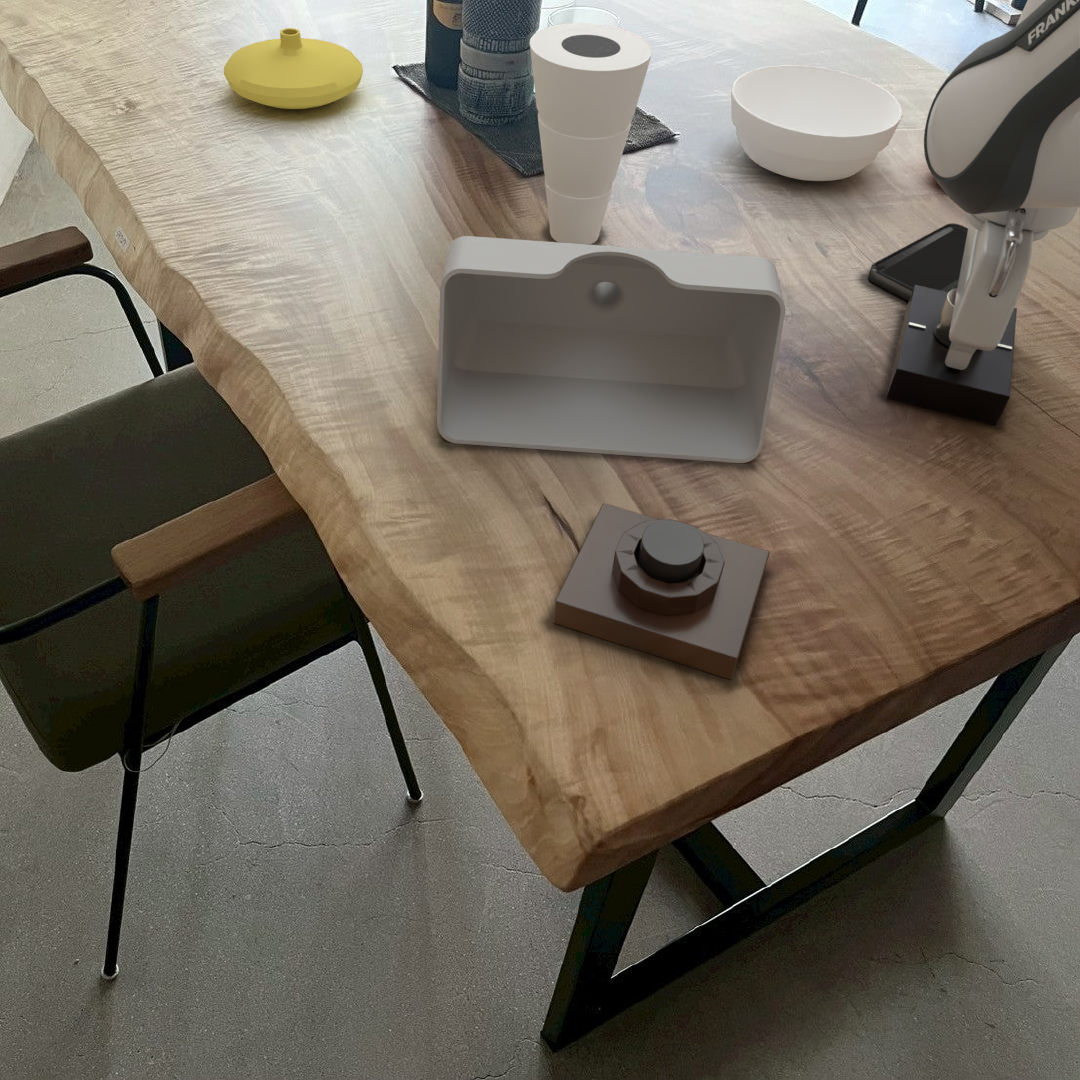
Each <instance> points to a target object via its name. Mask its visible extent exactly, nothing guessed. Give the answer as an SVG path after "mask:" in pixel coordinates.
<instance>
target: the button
mask: <svg viewBox="0 0 1080 1080" xmlns="http://www.w3.org/2000/svg"><path fill="white" fill-rule="evenodd" d="M672 520H673V519H672ZM672 520H665V521H659V522H656V523H653V524H651V525H650V526H649V527H648V528H646V530H645V531H644V533H643V535H642V539H641V545H640V551H639V563H640V566H641V567H642V569H643V570H644V571H645V572H646V573H647V574H648V575H649V576H650V577H652V578H654V579H656V580H659V581H663V582H666V583H681V582H685V581H687V580H689V579H691V578H692V577H694V576H695V575H696V573H697V572H698V570H699V567H700V563H701V559H702V555H703V551H704V542H703V539H702V537H701V535H700V534H699V533H698V532H697V531H696V530H695V529H694V528H692V527H691V526H689V525H690V524H689V525H687V524H688V523H686V522H683V523H682V521H679V520H676V521H672ZM685 523H686V524H685Z"/></svg>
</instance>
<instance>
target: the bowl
mask: <svg viewBox="0 0 1080 1080" xmlns="http://www.w3.org/2000/svg"><path fill="white" fill-rule="evenodd" d="M730 90H731V91H730V117H731V121H732V124H733V125H734V127H735V133H736V137H737V140H738V141H739V144H740V146H741V147H742V149H743V151H744V152H745V154H746V155H747V157H748V158H749V159H751V161H753V162H754V163H755V164H757V165H759V166H760V167H762V168H763V169H765V170H768V171H769V172H771V173H775V174H778V175H780V176H783V177H787V178H791V179H794V180H801V181H811V182H828V181H837V180H844V179H846V178H850V177H851V176H854V175H856V174H858V173H859V172H861V171H862V170H863V169H864V168H866V167H868V166H869V165H870V164H871V163H872V162H873V161H875V159H876V158H877V156H878V155H879V153H880V152H882V151H883V150H885V148H887V147H888V146H889V144H890V141H891V140H892V138H893V136H894V134H895V132H896V130H897V129H898V126H899V125H900V122H901V120H902V117H903V109H902V108H903V107H902V106H901V103H900V102H899V100H898V98H896V97H895V96H894V95H893V94H892V93H891V92H890V91H888V90H886V89H885V88H884V87H882V86H881V85H879V84H877V83H875V82H873V81H871V80H868V79H866V78H863V77H861V76H859V75H856V74H852V73H849V72H846V71H842V70H836V69H832V68H828V67H821V66H814V65H801V64H779V65H770V66H764V67H763V66H762V67H760V68H759V67H758V68H755V69H752V70H750V71H747V72H744V73H743V74H741V75H740V76H739V77H737V78H736V80H735V81H734V82H733V84H732V86H731V89H730Z"/></svg>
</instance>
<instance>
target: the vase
mask: <svg viewBox="0 0 1080 1080" xmlns="http://www.w3.org/2000/svg"><path fill="white" fill-rule="evenodd" d="M363 68H364V67H363V64H362V62H361V61H360V60H359V58H357V57H356V55H354V53H353V52H352V51H351V50H349V49H347V48H346V47H344V46H342V45H340V44H336V43H334V42H331V41H326V40H321V39H316V38H304V37H301V31H300V30H299V29H297V28H293V27H287V28H283V29H281V30H279V38H272V39H266V40H261V41H258V42H254V43H250V44H248V45H245V46H242V47H241V48H239V49H237V50H236V51H235V52H233V53H232V55H230V57H229V59H228V60H227V61H226V63H225V65H224V66H223V75H224V77H225V79H226V81H227V83H228V86H229V87H230V88H231V90H232V91H233V92H235V93H236V94H238V95H239V96H240V97H242V98H244V99H246V100H250V101H252V102H255V103H257V104H260V105H264V106H267V107H272V108H277V109H285V110H305V109H312V108H313V109H314V108H318V107H322V106H326V105H329V104H332V103H333V102H336V101H338V100H340V99H343V98H344V97H347V96H349V95H351V94H352V93H353V92H355V90H356V89H358V87H359V85H360V83H361V81H362V78H363V73H364V69H363Z"/></svg>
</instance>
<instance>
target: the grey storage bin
mask: <svg viewBox="0 0 1080 1080" xmlns="http://www.w3.org/2000/svg"><path fill="white" fill-rule="evenodd" d="M442 272H443V273H442V277H441V281H440V286H439V314H438V315H439V317H438V318H439V319H438V320H439V321H438V322H439V323H438V356H437V358H438V360H437V394H436V395H437V396H436V397H437V398H436V426H437V431H438V432H439V435H441V437H442V438H443V439H444V440H446V441H447V442H449V443H452V444H459V445H471V446H473V445H474V446H487V447H503V448H516V449H518V448H519V449H529V450H530V449H532V450H545V451H557V452H559V451H561V452H572V453H573V452H574V453H590V454H600V455H601V454H602V455H603V454H604V455H617V456H631V457H633V456H634V457H645V458H660V459H675V460H688V461H689V460H691V461H705V462H719V463H731V464H732V463H733V464H744V463H749V462H751V461H753V460H754V459H756V458H757V457H758V456H759V454H761V451H762V449H763V447H764V440H765V435H766V430H767V429H766V428H767V423H768V417H769V411H770V406H771V399H772V393H773V387H774V381H775V376H776V369H777V364H778V359H779V358H778V357H779V352H780V345H781V340H782V333H783V328H784V323H785V316H786V307H785V306H786V305H785V302H784V296H783V292H782V288H781V284H780V279H779V275H778V274H779V273H778V270H777V266H776V265H775V263H774V262H773V261H772V260H770V259H769V258H767V257H764V256H754V255H740V254H739V255H738V254H727V253H714V252H713V253H712V252H711V253H710V252H699V251H698V252H696V251H683V250H669V249H657V248H656V249H655V248H642V247H629V246H628V247H627V246H613V245H599V244H590V245H587V244H573V243H559V242H557V241H543V240H529V239H516V238H515V239H514V238H504V237H489V236H488V237H487V236H474V235H473V236H472V235H462V236H458V237H457V238H454V239H453V240H452V241H451V242H450V244H449V245H448V247H447V252H446V256H445V262H444V267H443V271H442Z"/></svg>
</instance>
